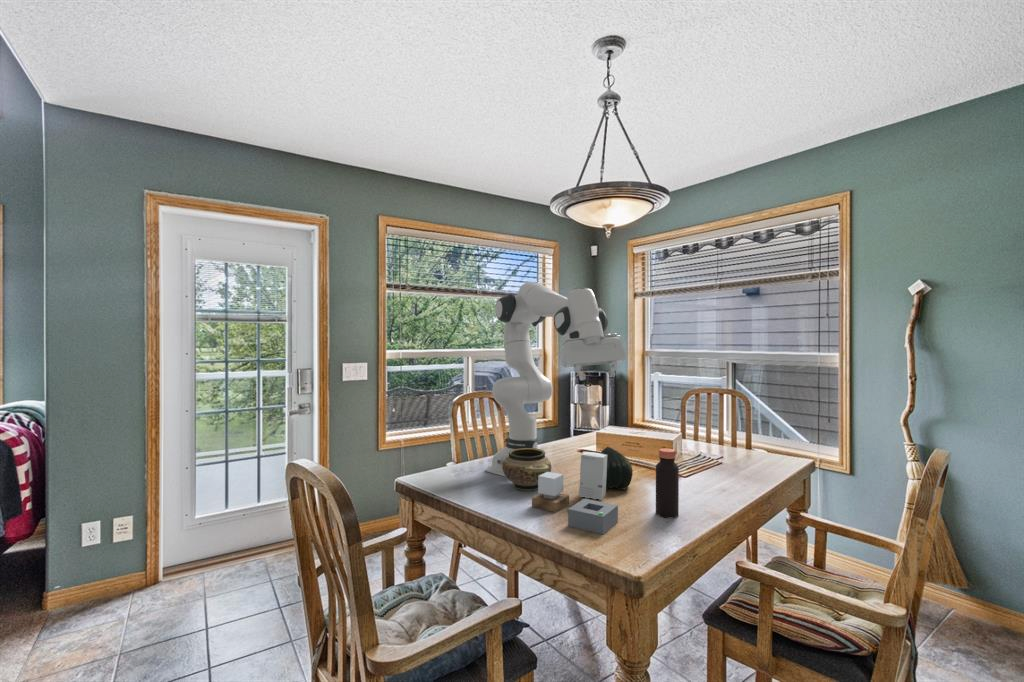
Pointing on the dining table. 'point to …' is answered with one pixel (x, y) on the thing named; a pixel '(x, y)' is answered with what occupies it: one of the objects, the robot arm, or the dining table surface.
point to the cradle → (550, 502)
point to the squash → (617, 469)
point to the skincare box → (593, 475)
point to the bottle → (667, 484)
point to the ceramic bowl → (525, 467)
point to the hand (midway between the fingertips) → (597, 378)
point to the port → (593, 516)
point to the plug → (550, 484)
